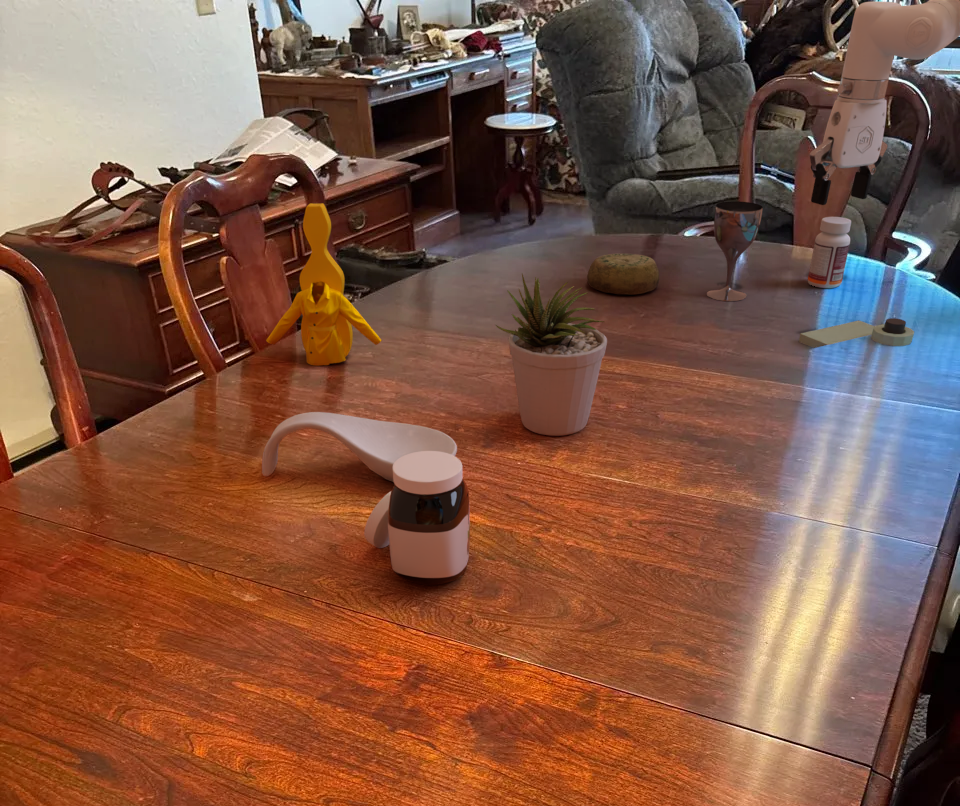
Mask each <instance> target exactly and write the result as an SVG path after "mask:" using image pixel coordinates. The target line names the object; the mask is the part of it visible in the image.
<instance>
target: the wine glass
mask: <svg viewBox="0 0 960 806" xmlns="http://www.w3.org/2000/svg"><path fill="white" fill-rule="evenodd" d="M763 209H764V208H763V205H761V204H758V203H754V202H749V201H738V200H737V201H736V200H735V201H734V200H733V201H723V202H722V201H721V202H718V203H717V204H715V209H714V217H713V218H714V219H713V232H714V239H715V242H716V244H717V245H718V248H720V250H721V252H722V254H723V255H724V257H725V259H726V264H727V266H726V269H727V270H726V280H725V281H726V282H725V286H724V287H723V288H714V289H711V290H709V291H707V292H706V296H707V297H708V298H710V299H713V300H717V301H723V302H737V301H742V300H744V299H745V300H746V298H747V294H746V293H745V292H743V291H740V290H738V289H732V288H731V284H732V283H731V282H732V276H733V273H734V268H735V265H736V262H737V261H738V259H739V257H741V255H742V254H743V253H744V252H746V250H747V249H748V248H749V247H751V246H752V244H753V243H754V241H755V239H756V237H757V234H758V232H759V229H760V225H761V220H762V216H763Z"/></svg>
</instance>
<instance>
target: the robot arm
mask: <svg viewBox="0 0 960 806" xmlns="http://www.w3.org/2000/svg"><path fill="white" fill-rule="evenodd" d="M959 37H960V0H928V1H926V2H924V3H918V4H911V5H902V4H901V3H899V2H893V1H865V2H862V3H860V4H859V5H857V7H856V9H855V10H854V15H853V18H852V23H851V27H850V32H849V37H848V43H847V48H846V51H845V52H846V53H845V58H844V62H843V68H842V72H841V78H840V82H839V85H838V86H837V97H836V99H835V100H834V102H833V105H832V108H831V111H830V114H829V116H828V117H829V118H828V119H827V120H828V121H827V124H826V128H825V131H824V136H823V140H822V143H821V144H819V145H817V146H816V147H815V148H814V149H813V150H812V151H810V153H809V161H810V164H811V165H810V169H811V172H812V178H814V183H813V188H812V193H811V198H810V201H811V203H813V204H817V205H820V206H825V205H827V203H828V198H829V195H830V194H829V193H830V190H831V184H832V180H830V178H831V177H832V176H833V174H834V173H835V171H836V169H837V168H839V169H850V168H858V171H855V173H854V178H853V183H852V187H851V191H850V196H851V197H853V198H856V199H859V200H866V199H867V197H868V194H869V189H870V186H871V185H870V184H871V181H872V180H871V179H872V177H873V175H874V174H875V173H876V171H877V167H878V166H879V165H880V163H881V162H882V158H883V157H884V155H885V153H886V150H887V149H888V144H887V143H886V142H885V141H884V140H883V138H884V134H885V126H886V119H887V107H888V105H887V99H885V97H886V93H887V89H888V84H889V80H890V76H891V70H892V66H893V62H894V57H900V58H904V59H908V60H915V61H916V60H917V61H918V60H925V59H927V58H929V57H932V56H933V55H935V54H936V53H938V52H940V51H942V50H943V49H945V48H946V47H947V46H949V45H950V44H951V43H953V41H955V40H956V39H958V38H959Z"/></svg>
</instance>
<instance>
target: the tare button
mask: <svg viewBox="0 0 960 806" xmlns="http://www.w3.org/2000/svg"><path fill="white" fill-rule="evenodd" d="M884 324H885V325H884V329H883V331H884V332H887V333H891V334H903V333H904V329H905V327H906V325H907V322H906V320H904V319H901V318H896V317H895V318H894V317H892V318H887V319H885V321H884Z"/></svg>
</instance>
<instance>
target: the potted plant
mask: <svg viewBox="0 0 960 806" xmlns="http://www.w3.org/2000/svg"><path fill="white" fill-rule="evenodd" d="M521 278H522V284H523V290H524V296H525V298H524V297H523V295H522V291H521V290H520V288H518V293H519V295H520V298H521V301H522V303H523V305H524V306H523V305H522V304H521V303H520V301H519V300H518V299H517V298H516V297H515V296H514V295H513V294H512V293H511V292H510V291H509V290H507V293H508V295H509V296H510V298H511V299H512V300H513V302H514V304H515V306H516V307H517V309H518V312H520V314H521V316H522V318H524V320H525V321H526V322H525V321H523V320H522V319H521V318H520V317H518V316H516V315H514V314H513V313H511V316H512V318H513V319H514V320H515V322H516V323H518V325H519V327H518V328H517V329H515V330H512V329H506V328H503V327H500V326H499V325H497V324H495V327H496V328H497V329H499V330H501V331H503V332H505V333H507V334H509V337H508V338H507V340H508V348H509V349H508V350H509V354H510V356H511V360H512V368H513V375H514V381H515V389H516V394H517V395H516V396H517V402H518V408H519V409H518V410H519V416H520V420H521V423H522V425H523V426H524V428H525V429H527V430H529V431H530V432H532V433H535V434H539V435H543V436H545V435H546V436H553V437H559V436H561V437H563V436H567V435H572V434H575V433H578V432H581V430H583V429H584V428H585V427H586V426H587V424H588V421H589V418H590V414H591V410H592V406H593V402H594V397H595V393H596V388H597V385H598V379H599V375H600V372H601V371H600V370H601V366H602V361H603V358H604V357H605V355H606V349H607V344H608V338H607V336H605V334H604V333H602V332H601V331H599V330H598V329H596V328H595V327H593V326H591V325H589V324H591V323H605V322H606V321H605V320H597V319H594V318H590V317H583V316H571V315H572V314H574V313H575V312H579V311H594V310H596V309H595V308H593V307H586V306H585V307H576V308H573V309H570V310H569V308H570V306H572V305H573V303H574V302H576V300H578V299H579V298H581V297H582V296H585V295H586V294H588V292H584V293H581V294H579V293H580V290H582V289H583V287H580V288H577V289H575V290H574V291H573V292H571V293H570V294H568V295H567V296H566V294H567V293H568V292H569V291H571V290H572V289H573V288H574V287H575V286H574V285H573V286H571V287H569V288H567V289H565V290H564V291H563V292H561V291H562V290H563V288H564V287H565V286H566V285H567V284H568V282H567V281H566V282H565V283H564V284H563V285H561V287H559V288H558V290H557V291H556V292H555V293H554V295H553V296H552V298H551V297H549V299H548V301H547V303H546V305H545V308H544V305H543V303H542V297H541V292H540V287H541V282H540V279H539V277H536V276H534V285H533V297H532V296H531V294H530V290H529V288H528V286H527V283H526V280H525V277H524V274H523V273H521ZM560 292H561V294H560ZM578 294H579V295H578ZM576 295H577V296H576ZM565 296H566V297H565ZM564 297H565V298H564ZM563 298H564V299H563ZM577 321H583V322H579V323H576V324H575V323H573V322H577Z"/></svg>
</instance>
